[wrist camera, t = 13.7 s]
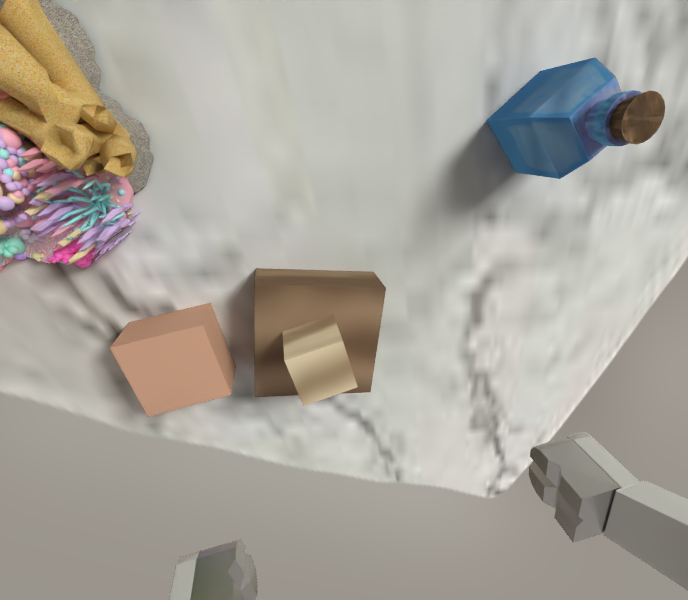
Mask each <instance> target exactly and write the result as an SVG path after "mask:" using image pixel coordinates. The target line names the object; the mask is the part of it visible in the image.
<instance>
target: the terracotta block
mask: <svg viewBox="0 0 688 600" xmlns="http://www.w3.org/2000/svg"><path fill="white" fill-rule="evenodd" d="M110 349H111V351H112V353H113V355H114V357H115V358H116V360H117V362H118V364H119V366H120V367H121V369H122V371H123V373H124V374H125V376H126V378H127V380H128V382H129V383H130V385H131V387H132V389H133V391H134V392H135V394H136V396H137V398H138V400H139V401H140V403H141V405H142V407H143V408H144V410H145V412H146V414H147V416H148V417H149V416H153V415H157V414H160V413H164V412H168V411H172V410H176V409H179V408H183V407H187V406H191V405H195V404H198V403H202V402H206V401H210V400H214V399H217V398H221V397H225V396H229V395H231V393H232V386H233V380H234V373H235V364H234V362H233V359H232V357H231V354H230V351H229V349H228V346H227V344H226V341H225V338H224V336H223V333H222V331H221V328H220V325H219V323H218V320H217V318H216V315H215V312H214V310H213V307H212V305H211V303H208V304H204V305H199V306H195V307H191V308H187V309H183V310H178V311H174V312H170V313H166V314H162V315H158V316H153V317H149V318H145V319H141V320H137V321H132V322H129V323H128V325H127V326H126V327H125V328H124V330H123V331H122V332H121V334H120V335H119V336H118V338H117V339H116V340H115V342H114V343H113V344H112V345H111V347H110Z"/></svg>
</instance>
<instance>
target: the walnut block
mask: <svg viewBox="0 0 688 600" xmlns="http://www.w3.org/2000/svg"><path fill="white" fill-rule="evenodd" d="M385 291H386V288H385V286H384V285H383V284H382V282H381V281H380V280H379V278H378V277H377V276H376V275H375V273H374V272H361V271H327V270H293V269H258V268H256V275H255V284H254V326H255V397H266V396H290V395H299V394H298V392H297V390H296V387H295V385H294V382H293V380H292V378H291V375H290V373H289V371H288V368H287V366H286V363H285V361H284V347H283V331H285V330H288V329H291V328H294V327H297V326H300V325H303V324H306V323H309V322H312V321H315V320H318V319H321V318H324V317H327V316H330V315H334V318H335V321H336V323H337V326H338V329H339V332H340V334H341V337H342V340H343V343H344V346H345V349H346V352H347V355H348V358H349V361H350V365H351V368H352V371H353V374H354V377H355V380H356V383H357V386H358V387H357V388H354V389H351V390H348V391H346V392H343V393H362V392H370V391H371V384H372V377H373V371H374V364H375V357H376V351H377V344H378V337H379V331H380V324H381V317H382V311H383V304H384V297H385Z"/></svg>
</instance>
